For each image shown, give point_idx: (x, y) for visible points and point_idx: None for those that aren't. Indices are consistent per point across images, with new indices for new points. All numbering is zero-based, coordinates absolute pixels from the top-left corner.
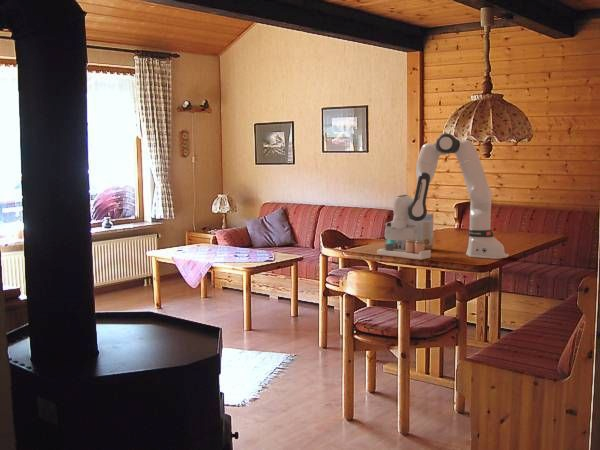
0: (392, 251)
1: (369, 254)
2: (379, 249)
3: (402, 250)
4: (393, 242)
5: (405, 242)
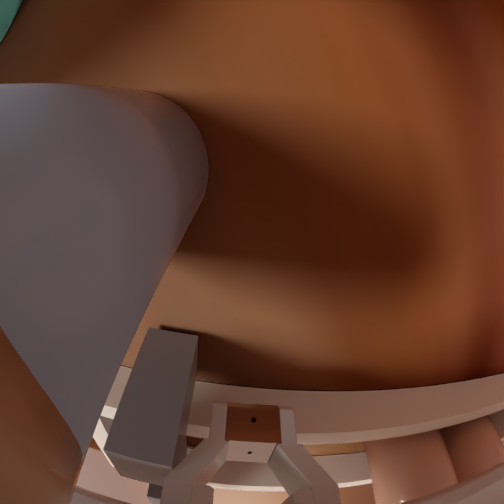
0: (258, 489)
1: (92, 442)
2: (106, 456)
3: (311, 440)
4: (120, 474)
5: (337, 487)
